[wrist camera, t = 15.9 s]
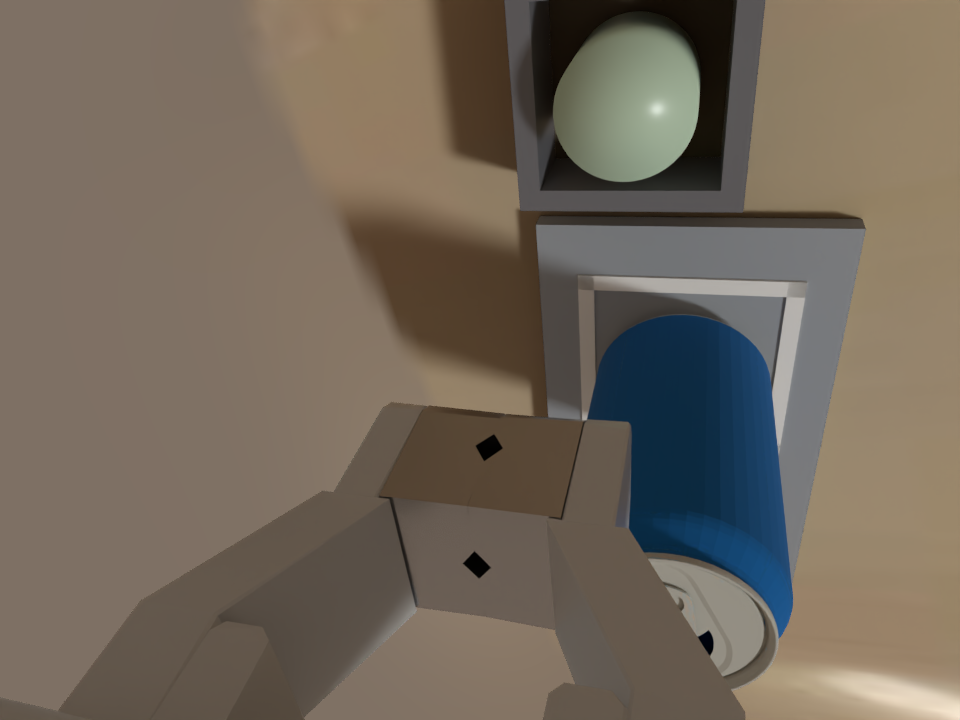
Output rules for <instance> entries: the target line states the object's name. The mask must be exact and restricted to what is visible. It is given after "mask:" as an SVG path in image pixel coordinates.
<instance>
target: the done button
mask: <svg viewBox="0 0 960 720" xmlns="http://www.w3.org/2000/svg"><path fill="white" fill-rule="evenodd" d="M700 83H701V66H700V59H699V56H698V52H697V50H696V47H695V45H694V43H693V41H692V40H691V38H690V36H689V35H688V34H687V33H686V32H685V30H684V29H683V28H682V27H680V26H679V25H678V24H677V23H676V22H674V21H673V20H671V19H669V18H667V17H665V16H663V15H660V14H657V13H653V12H646V11H634V12H627V13H623V14H620V15H617V16H615V17H612V18H610V19H608V20H607V21H605V22H603V23H602V24H601V25H599V26H598V27H597V28H596V29H595V30H594V31H593V32H592V33H591V34H590V35H589V36H588V37H587V39H586V40H585V41H584V43H583V44H582V46H581V47H580V49H579V50H578V52H577V54H576V55H575V57H574V58H573V60H572V61H571V63H570V64H569V66H568V68H567V69H566V71H565V73H564V74H563V76H562V78H561V80H560V82H559V84H558V87H557V90H556V93H555V97H554V104H553V119H554V126H555V130H556V134H557V137H558V139H559V142H560V144H561V145H562V147H563V149H564V151H565V152H566V153H567V155H568V156H569V157H570V158H571V159H572V161H573V162H574V163H575V164H577V165H578V166H579V167H580V168H581V169H583V170H585V171H586V172H588V173H589V174H591V175H594V176H596V177H598V178H601V179H605V180H609V181H614V182H632V181H637V180H642V179H645V178H648V177H651V176H653V175H655V174H658V173H659V172H661V171H663V170H664V169H666V168H667V167H669V166H670V165H671V164H672V163H674V162H675V161H676V160H677V159H678V157H679V156H680V155H681V154H682V153H683V151H684V150H685V149H686V147H687V146H688V144H689V142H690V140H691V138H692V136H693V134H694V131H695V128H696V124H697V120H698V112H699V98H700Z"/></svg>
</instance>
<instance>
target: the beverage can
mask: <svg viewBox="0 0 960 720" xmlns="http://www.w3.org/2000/svg"><path fill="white" fill-rule="evenodd" d="M587 419H590V420H606V421H622V422H629V423H630V425H631V431H632V445H631V495H630V513H629V530H630V531H631V533H632V535H633V536H634V538H635V539H636V541H637V542H638V544H639V546H640V547H641V549H642V550H643V552H644V554H645V555H646V557H647V558H648V560H649V561H650V563H651V565H652V566H653V568H654V569H655V571H656V572H657V574H658V576H659V577H660V579H661V580H662V582H663V583H664V585H665V587H666V588H667V590H668V591H669V593H670V595H671V596H672V598H673V599H674V601H675V602H676V604H677V606H678V607H679V609H680V610H681V612H682V613H683V615H684V617H685V618H686V620H687V621H688V623H689V624H690V626H691V628H692V629H693V631H694V632H695V634H696V636H697V637H698V639H699V640H700V642H701V643H702V645H703V647H704V648H705V650H706V651H707V653H708V654H709V656H710V658H711V659H712V661H713V662H714V664H715V665H716V667H717V669H718V670H719V672H720V673H721V675H722V676H723V678H724V680H725V681H726V683H727V684H728V686H729V688H730V689H731V691H733V690H736V689H739V688H741V687H743V686H746V685H748V684H750V683H751V682H753V681H755V680H756V679H758V678H759V677H760V676H761V675H762V674H764V673H765V672H766V670H767V669H768V668H769V667H770V666H771V664H772V662H773V660H774V659H775V656H776V653H777V649H778V639H779V638H780V637H781V635H782V634H783V632H784V630H785V628H786V626H787V624H788V622H789V619H790V615H791V612H792V607H793V592H792V582H791V572H790V562H789V553H788V543H787V533H786V524H785V514H784V504H783V494H782V485H781V475H780V465H779V455H778V446H777V436H776V426H775V417H774V407H773V397H772V387H771V379H770V373H769V370H768V367H767V364H766V362H765V360H764V358H763V356H762V354H761V353H760V351H759V350H758V349H757V347H756V346H755V345H754V344H753V343H752V342H751V341H750V340H749V339H748V338H747V337H746V336H744V335H743V334H742V333H741V332H739V331H738V330H736V329H734V328H733V327H731V326H729V325H727V324H724V323H722V322H720V321H717V320H714V319H711V318H708V317H702V316H697V315H687V314H676V315H665V316H659V317H655V318H651V319H648V320H645V321H643V322H640V323H638V324H636V325H634V326H632V327H630V328H629V329H627V330H626V331H624V332H623V333H622V334H620V335H619V336H618V337H617V338H616V339H615V340H614V341H613V342H612V343H611V345H610V346H609V347H608V348H607V350H606V352H605V353H604V355H603V357H602V359H601V362H600V365H599V368H598V373H597V377H596V381H595V386H594V390H593V395H592V399H591V403H590V408H589V412H588V417H587Z"/></svg>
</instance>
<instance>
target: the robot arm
mask: <svg viewBox="0 0 960 720" xmlns="http://www.w3.org/2000/svg"><path fill="white" fill-rule="evenodd" d="M631 445H632V431H631V425H630V423H629V422H622V421H606V420H590V419H587V420H577V419H564V418H551V417H538V416H526V415H513V414H503V413H494V412H485V411H475V410H466V409H457V408H448V407H438V406H423V405H413V404H403V403H394V402H391V403H390V404H388V405H386V406H385V407H383V408H382V410H381V411H380V413H379V415H378V417H377V418H376V420H375V422H374V423H373V425H372V427H371V429H370V430H369V432H368V434H367V436H366V437H365V439H364V441H363V442H362V444H361V446H360V448H359V449H358V451H357V453H356V454H355V456H354V458H353V459H352V461H351V463H350V465H349V466H348V468H347V470H346V471H345V473H344V475H343V477H342V478H341V480H340V482H339V483H338V485H337V487H336V489H335V491H334V492H328V491H321V492H320V493H318V494H316V495H315V496H313V497H312V498H310V499H308V500H306V501H305V502H303V503H302V504H300V505H298V506H297V507H295V508H293V509H291V510H290V511H288V512H287V513H285V514H283V515H282V516H280V517H278V518H277V519H275V520H273V521H272V522H270V523H268V524H267V525H265V526H264V527H262V528H260V529H258V530H257V531H255V532H253V533H252V534H250V535H249V536H247V537H245V538H243V539H242V540H240V541H239V542H237V543H235V544H234V545H232V546H230V547H229V548H227V549H225V550H224V551H222V552H220V553H219V554H217V555H216V556H214V557H212V558H211V559H209V560H207V561H205V562H204V563H202V564H201V565H199V566H197V567H196V568H194V569H192V570H191V571H189V572H187V573H186V574H184V575H182V576H181V577H179V578H177V579H176V580H174V581H172V582H171V583H169V584H167V585H166V586H164V587H163V588H161V589H159V590H158V591H156V592H154V593H152V594H151V595H149V596H148V597H146V598H144V599H143V600H141V601H140V602H139V603H138V605H137V606H136V607H135V609H134V610H133V611H132V612H131V614H130V615H129V617H128V618H127V619H126V620H125V622H124V623H123V625H122V626H121V627H120V629H119V630H118V631H117V632H116V634H115V635H114V637H113V638H112V639H111V641H110V642H109V643H108V645H107V646H106V647H105V649H104V650H103V651H102V653H101V654H100V655H99V657H98V658H97V659H96V661H95V662H94V663H93V665H92V666H91V667H90V669H89V670H88V671H87V673H86V674H85V675H84V677H83V678H82V679H81V681H80V682H79V683H78V685H77V686H76V687H75V689H74V690H73V692H72V693H71V694H70V695H69V697H68V698H67V699H66V701H65V702H64V703H63V705H62V706H61V707H60V709H59V710H58V711H56V710H51V709H47V708H43V707H39V706H35V705H30V704H26V703H22V702H18V701H13V700H9V699H5V698H1V697H0V720H305V719H304V717H305V716H306V715H307V714H308V713H309V712H310V711H311V710H312V709H313V708H315V707H316V706H317V705H318V704H319V703H320V702H321V701H322V700H323V699H324V698H325V697H326V696H327V695H328V694H329V693H330V692H332V691H333V690H334V689H335V688H336V687H337V686H338V685H339V684H340V683H341V682H342V681H343V680H344V679H345V678H346V677H348V676H349V675H350V674H351V673H352V672H353V671H354V670H355V669H356V668H357V667H358V666H359V665H360V664H361V663H362V662H363V661H365V660H366V659H367V658H368V657H369V656H370V655H371V654H372V653H373V652H374V651H375V650H376V649H377V648H378V647H379V646H380V645H382V644H383V643H384V642H385V641H386V640H387V639H388V638H389V637H390V636H391V635H392V634H393V633H394V632H395V631H396V630H398V628H400V627H401V626H402V625H403V624H404V623H405V622H406V621H407V620H408V619H409V618H410V617H411V616H412V615H414V614H415V613H416V607H418V608H426V609H433V610H440V611H448V612H456V613H463V614H470V615H478V616H486V617H491V618H496V619H500V620H506V621H511V622H517V623H521V624H527V625H532V626H537V627H543V628H548V629H553V630H555V631H556V636H557V638H558V641H559V643H560V646H561V649H562V651H563V654H564V656H565V659H566V661H567V664H568V667H569V669H570V672H571V674H572V677H573V679H574V682H575V684H570V683H563V684H562V685H560V686H559V687H558V688H556V689H555V690H553V691H551V692H550V693H549V694H548V698H547V703H546V708H545V712H544V717H543V720H745V711H744V710H743V708H742V706H741V705H740V703H739V702H738V700H737V699H736V697H735V695H734V694H733V692H732V691H731V689H730V688H729V686H728V684H727V683H726V681H725V680H724V678H723V676H722V675H721V673H720V672H719V670H718V669H717V667H716V665H715V664H714V662H713V661H712V659H711V658H710V656H709V654H708V653H707V651H706V650H705V648H704V647H703V645H702V643H701V642H700V640H699V639H698V637H697V636H696V634H695V632H694V631H693V629H692V628H691V626H690V624H689V623H688V621H687V620H686V618H685V617H684V615H683V613H682V612H681V610H680V609H679V607H678V606H677V604H676V602H675V601H674V599H673V598H672V596H671V595H670V593H669V591H668V590H667V588H666V587H665V585H664V583H663V582H662V580H661V579H660V577H659V576H658V574H657V572H656V571H655V569H654V568H653V566H652V565H651V563H650V561H649V560H648V558H647V557H646V555H645V554H644V552H643V550H642V549H641V547H640V546H639V544H638V542H637V541H636V539H635V538H634V536H633V535H632V533H631V531H630V530H629V513H630V495H631Z"/></svg>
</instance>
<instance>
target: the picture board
mask: <svg viewBox="0 0 960 720" xmlns="http://www.w3.org/2000/svg"><path fill="white" fill-rule="evenodd" d="M865 231H866V228H865V225H864V223H863V220H862V219H814V218H710V217H607V216H540V217H539V219H538V221H537V223H536V235H537V250H538V266H539V281H540V297H541V313H542V328H543V344H544V359H545V375H546V390H547V406H548V417H551V418H564V419H577V420H587V417H588V412H589V408H590V403H591V399H592V395H593V390H594V386H595V381H596V377H597V373H598V368H599V365H600V362H601V359H602V357H603V355H604V353H605V352H606V350H607V348H608V347H609V346H610V345H611V343H612V342H613V341H614V340H615V339H616V338H617V337H618V336H619V335H620V334H622V333H623V332H624V331H626V330H627V329H629V328H630V327H632V326H634V325H636V324H638V323H640V322H643V321H645V320H648V319H651V318H655V317H659V316H665V315H676V314H687V315H697V316H702V317H708V318H711V319H714V320H717V321H720V322H722V323H724V324H727V325H729V326H731V327H733V328H734V329H736V330H738V331H739V332H741V333H742V334H743V335H744V336H746V337H747V338H748V339H749V340H750V341H751V342H752V343H753V344H754V345H755V346H756V347H757V349H758V350H759V351H760V353H761V354H762V356H763V358H764V360H765V362H766V364H767V367H768V370H769V373H770V379H771V387H772V397H773V407H774V417H775V426H776V436H777V446H778V455H779V465H780V475H781V485H782V494H783V504H784V514H785V524H786V533H787V543H788V553H789V562H790V572H791V582H793V577H794V572H795V567H796V562H797V558H798V553H799V548H800V543H801V538H802V534H803V529H804V524H805V519H806V514H807V510H808V505H809V500H810V495H811V490H812V485H813V481H814V476H815V471H816V466H817V461H818V457H819V452H820V447H821V442H822V437H823V433H824V428H825V423H826V418H827V413H828V409H829V404H830V399H831V394H832V389H833V385H834V380H835V375H836V370H837V365H838V361H839V356H840V351H841V346H842V341H843V337H844V332H845V327H846V322H847V317H848V312H849V308H850V303H851V298H852V293H853V288H854V284H855V279H856V274H857V269H858V264H859V260H860V255H861V250H862V245H863V240H864V236H865Z"/></svg>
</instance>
